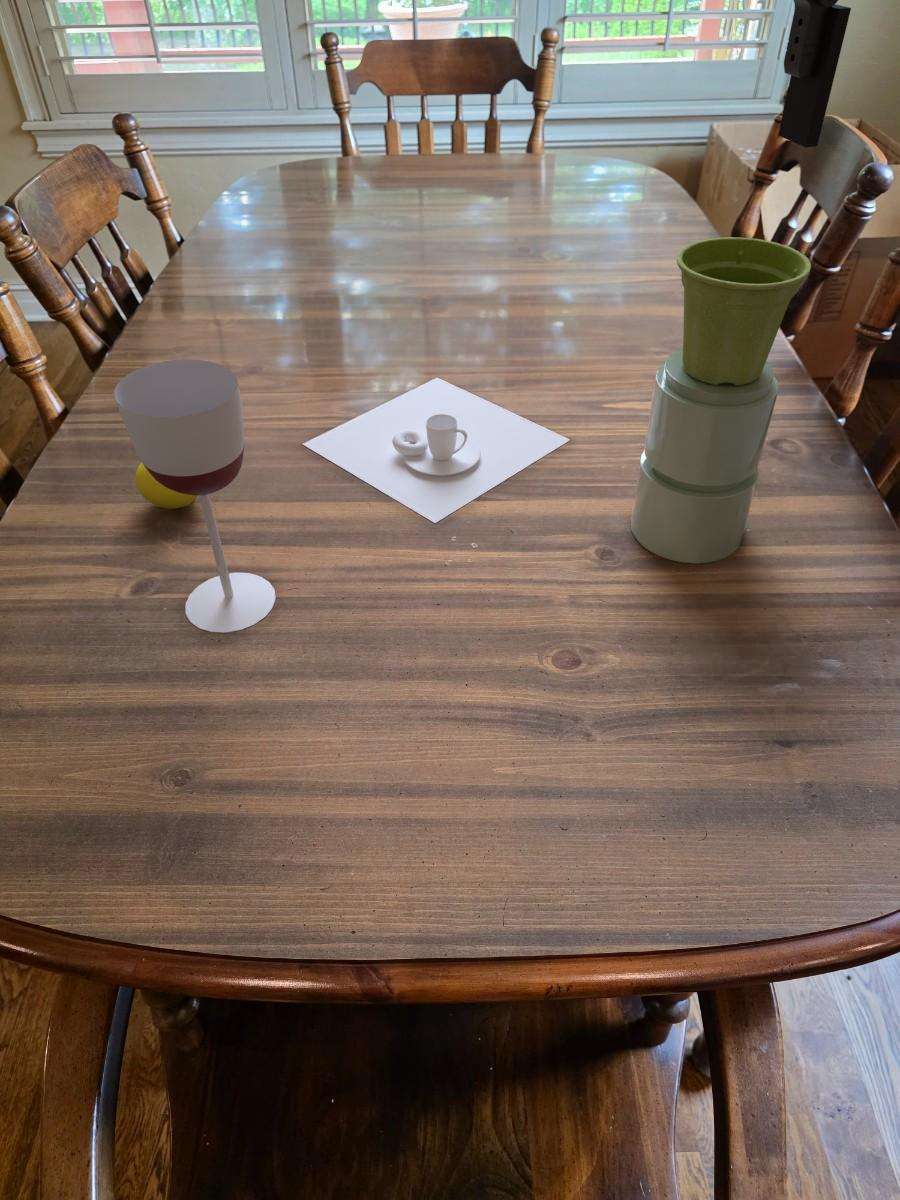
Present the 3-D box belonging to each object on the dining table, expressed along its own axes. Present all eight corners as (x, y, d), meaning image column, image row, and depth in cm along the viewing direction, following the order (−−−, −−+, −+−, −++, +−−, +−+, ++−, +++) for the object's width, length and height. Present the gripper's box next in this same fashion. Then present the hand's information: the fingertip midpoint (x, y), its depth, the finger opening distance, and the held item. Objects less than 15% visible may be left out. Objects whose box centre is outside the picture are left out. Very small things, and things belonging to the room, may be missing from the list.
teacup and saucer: (381, 455, 89) (378, 420, 87) (436, 425, 94) (435, 391, 91) (441, 488, 85) (440, 453, 82) (496, 456, 89) (497, 421, 86)
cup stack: (764, 549, 77) (811, 386, 66) (663, 573, 75) (695, 409, 64) (705, 488, 84) (739, 332, 73) (611, 509, 82) (632, 351, 71)
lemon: (130, 516, 82) (114, 468, 79) (155, 484, 86) (142, 437, 83) (199, 524, 81) (186, 476, 78) (221, 491, 85) (210, 444, 82)
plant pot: (635, 368, 69) (650, 258, 63) (707, 332, 74) (727, 226, 68) (735, 411, 64) (761, 296, 58) (805, 370, 68) (836, 259, 63)
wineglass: (237, 649, 69) (181, 429, 56) (159, 611, 72) (88, 396, 59) (300, 591, 74) (263, 377, 60) (224, 558, 77) (172, 349, 64)
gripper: (1197, -395, 43) (1015, 95, 57) (755, -415, 37) (676, 134, 51) (1359, -427, 37) (1114, 122, 51) (872, -455, 32) (747, 170, 46)
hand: (895, 129), depth 51 cm, fingers open, 13 cm apart
